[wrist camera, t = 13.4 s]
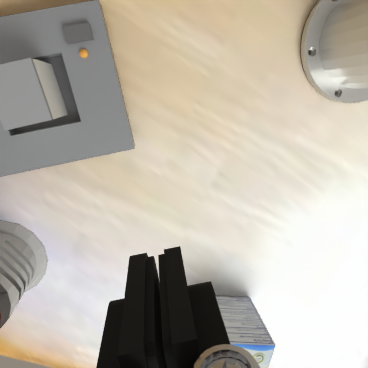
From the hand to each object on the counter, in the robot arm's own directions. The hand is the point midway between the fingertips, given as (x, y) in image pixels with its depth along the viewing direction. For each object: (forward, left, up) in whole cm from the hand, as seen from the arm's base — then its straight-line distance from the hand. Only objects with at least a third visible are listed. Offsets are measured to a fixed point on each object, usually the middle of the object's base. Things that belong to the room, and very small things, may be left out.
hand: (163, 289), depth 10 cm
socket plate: (+9, -8, -26) cm, 28 cm away
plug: (+9, -8, -25) cm, 28 cm away
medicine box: (-5, +23, -26) cm, 35 cm away
